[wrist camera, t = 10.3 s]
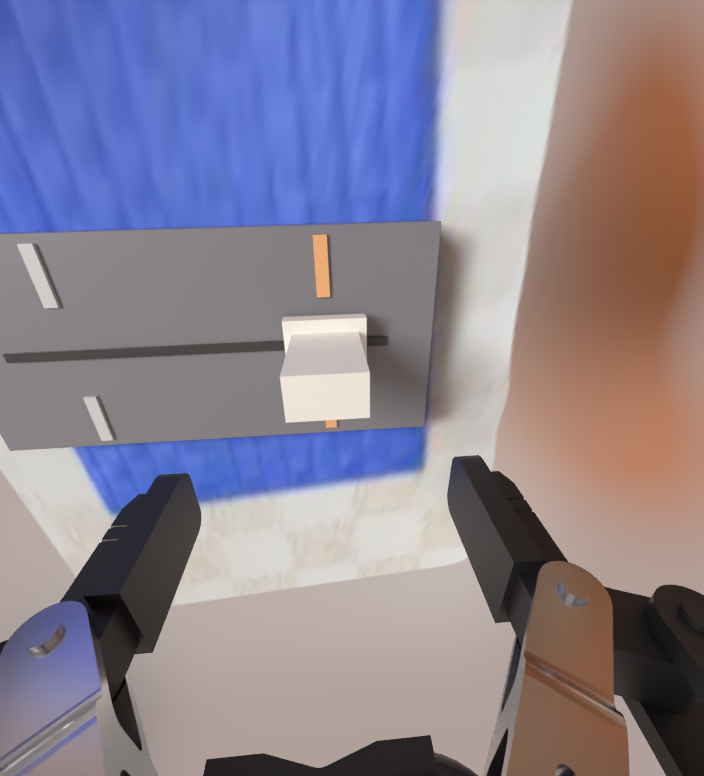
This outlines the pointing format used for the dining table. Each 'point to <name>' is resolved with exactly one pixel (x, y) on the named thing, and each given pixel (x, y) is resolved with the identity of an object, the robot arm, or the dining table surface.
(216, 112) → the dining table surface
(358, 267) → the fader console
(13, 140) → the dining table surface
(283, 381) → the fader tab
